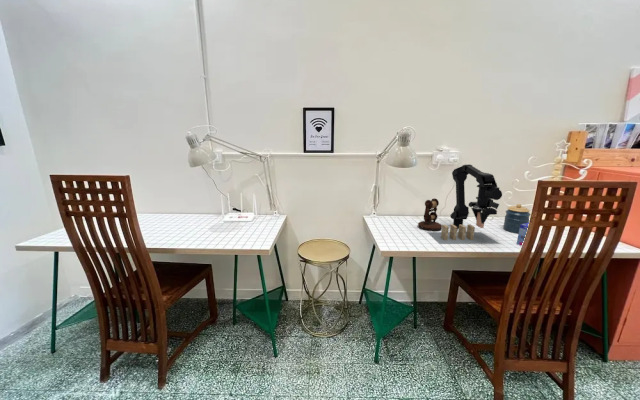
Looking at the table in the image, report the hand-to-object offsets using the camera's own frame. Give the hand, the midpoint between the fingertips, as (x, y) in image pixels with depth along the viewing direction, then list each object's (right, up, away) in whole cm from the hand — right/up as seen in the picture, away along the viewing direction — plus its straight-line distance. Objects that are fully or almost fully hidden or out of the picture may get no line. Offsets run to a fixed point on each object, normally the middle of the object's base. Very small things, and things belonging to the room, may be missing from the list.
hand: (480, 222), depth 156 cm
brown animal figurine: (-21, -6, +22) cm, 31 cm away
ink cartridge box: (+22, -13, -7) cm, 26 cm away
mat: (-9, -10, +4) cm, 14 cm away
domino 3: (-10, -10, +3) cm, 14 cm away
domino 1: (-20, -10, +3) cm, 22 cm away
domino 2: (-15, -10, +3) cm, 18 cm away
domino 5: (0, -3, +1) cm, 3 cm away
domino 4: (-5, -10, +2) cm, 11 cm away
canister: (+32, -7, +16) cm, 37 cm away
